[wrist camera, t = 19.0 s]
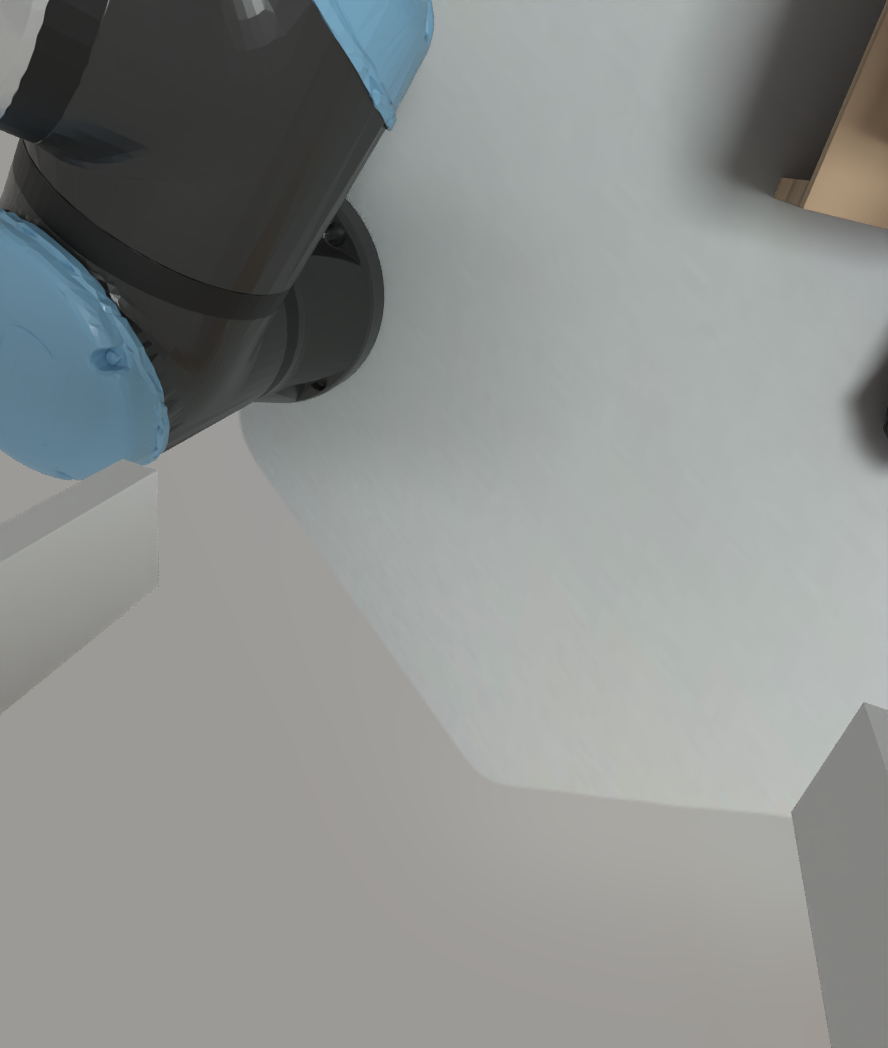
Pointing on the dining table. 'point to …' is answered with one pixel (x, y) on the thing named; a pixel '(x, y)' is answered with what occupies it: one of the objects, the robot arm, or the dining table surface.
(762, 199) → the dining table surface
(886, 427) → the rock
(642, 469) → the dining table surface
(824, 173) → the open wooden crate
